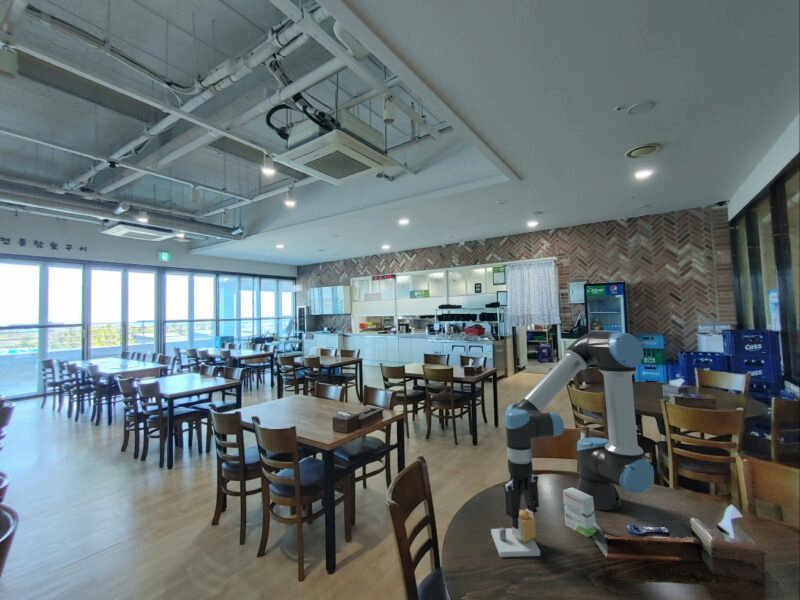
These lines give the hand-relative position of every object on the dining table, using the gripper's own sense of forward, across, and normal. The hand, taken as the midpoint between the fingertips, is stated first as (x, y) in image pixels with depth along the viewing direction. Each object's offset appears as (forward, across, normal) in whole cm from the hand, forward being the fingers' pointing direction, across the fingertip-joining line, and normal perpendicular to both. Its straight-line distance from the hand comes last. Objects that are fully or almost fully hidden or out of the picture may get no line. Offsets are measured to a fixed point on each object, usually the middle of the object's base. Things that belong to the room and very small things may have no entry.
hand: (524, 534), depth 114 cm
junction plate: (+3, +3, -2) cm, 4 cm away
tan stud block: (0, 0, 0) cm, 0 cm away
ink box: (+3, -21, +5) cm, 22 cm away
